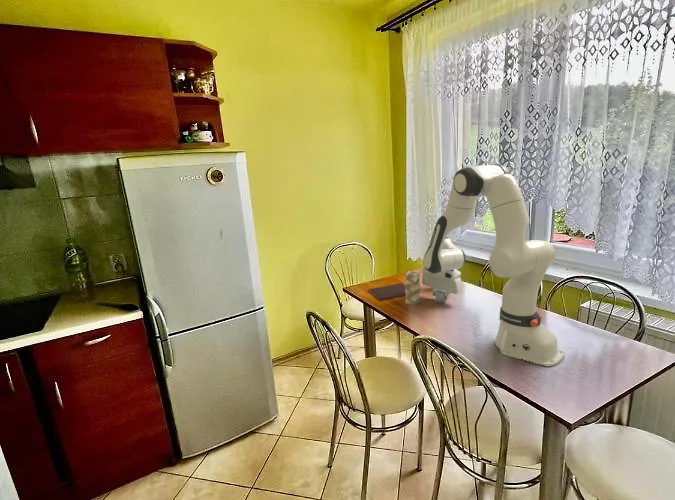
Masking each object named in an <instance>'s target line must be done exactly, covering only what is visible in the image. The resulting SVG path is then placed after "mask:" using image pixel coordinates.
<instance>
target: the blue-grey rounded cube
mask: <svg viewBox="0 0 675 500" xmlns="http://www.w3.org/2000/svg"><path fill="white" fill-rule="evenodd" d="M446 295H447V293H446V291H443V290H436V291H435V296H434V297H435V299H434V301H435V302H436V303H438V304H445V303H446V302H447V300H446V299H444V296H446Z"/></svg>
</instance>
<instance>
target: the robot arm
mask: <svg viewBox="0 0 675 500" xmlns="http://www.w3.org/2000/svg"><path fill="white" fill-rule="evenodd" d="M452 179H453V183H452V186H451V190H450V192H449V195H448V201H447V204H446V207H445V211H444V212H443V214H442V215H440V217H439V218H438V219H437V221H436V223H435V226H434V229H433V232H432V235H431V238H430V241H429V245H428V247H427V250H426V252H425V254H424V257H423V259H422V260H423V261H422V263H423V268H422V277H421V283H422V285H423V286H426V287H429V288H430V290H431V292H432V296H433V297H435V291H436V290H435V288H436V289H440V290H443V291H446V296H444V299H446V301H448V300H449V299H450V298H449V297H450V296H451V294H454V295H458V294H460V293H461V292H462V289H463V284H462V283H463V282H462V278H461V276H462V272H461V271H459V270H458V269H461V268H463V267H464V265H465V264H466V253H465V252H464V250H463V249H461V248H459V247H457V246H456V245H455V244H454V243H453V241H452V239H451V237H448V235H449V234H451V233H452V232H453V231H455V230H457V229H458V228H461V227H463V226H465V225H467V224H469V223H470V221H472V219H473V218H474V215H475V212H476V207H477V200H478V198H479V196H485V197H486V198H487V200H488V205H489V209H490V212H491V215H492V220H493V224H494V228H495V241H494V242H495V244H494V247H493V250H492V252H491V253H490V256H489V258H488V265H489V268H490V270H491V272H492V273H493V274H494V275H495V276H496V277H498V278H499V277H500V278H504V279H505V278H509V279H508V281H507V282H506V283H505V284H504V285H503V288H502V294H501V295H502V296H501V297H502V299H501V306H500V309H499V327H498V330H497V333H496V334H497V335H496V337H495V339H494V344H495V346H496V347H497V348H498V349H499V351H500V354H501V355H504V356H507V357H509V358H510V357H511V358H514V359H518V360H521V359H523V360H522V361H525V360H526V361H525V362H529V361H530V362H529V363H532V362H533V364H535V365H539V364H540V366H543V365H544V367H554V366H556V365H558V364H560V363H561V362H562V360H563V359H564V357H565V351H564V349H563V348H562V347H560V346H558V340H557V336H556V335H555V334H554V333H553V332H552V331H550V330H549V328H547V327H546V326H545V325H544V324H543V323H542V318H543V314H542V313H541V314H540V315H539V313H538V312H537V302H538V295H539V294H538V293H539V290H540V287H541V284H542V282H543V279H544V278H545V275H546V273H547V271H548V269H549V268H550V266H551V265H553V263H554V262H555V260H556V250H555V247H554V246H553V245H552V243H550V242H549V241H547V240H541V239H531V240H526V231H527V229H528V226H529V225H530V224H531V223H530V220H531V219H530V217H529V213H528V209H527V206H526V202H525V199H524V196H523V194H522V191H521V189H520V186H519V184H518V182H517V181H516V179H515V177H514V176H513V175H512V174H511V172H510V170H509V169H508V167H506V166H505V165H502V164H496V163H495V164H479V165H474V166H468V167H463V168H461V169H459V170H457V171H456V172H455V174H454V177H453V178H452Z"/></svg>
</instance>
